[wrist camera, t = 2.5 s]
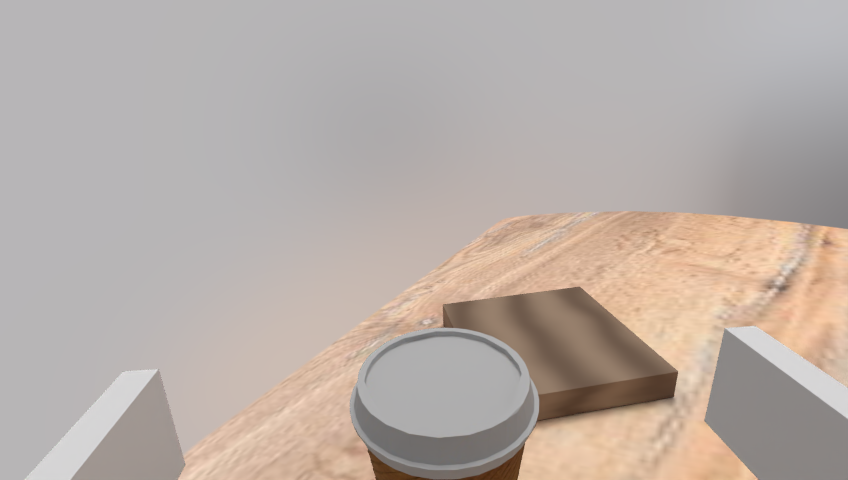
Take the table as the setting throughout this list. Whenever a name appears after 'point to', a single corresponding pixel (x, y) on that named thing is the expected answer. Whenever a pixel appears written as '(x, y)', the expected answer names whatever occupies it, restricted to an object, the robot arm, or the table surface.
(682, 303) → the table surface
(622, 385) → the walnut board
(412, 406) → the disposable coffee cup
